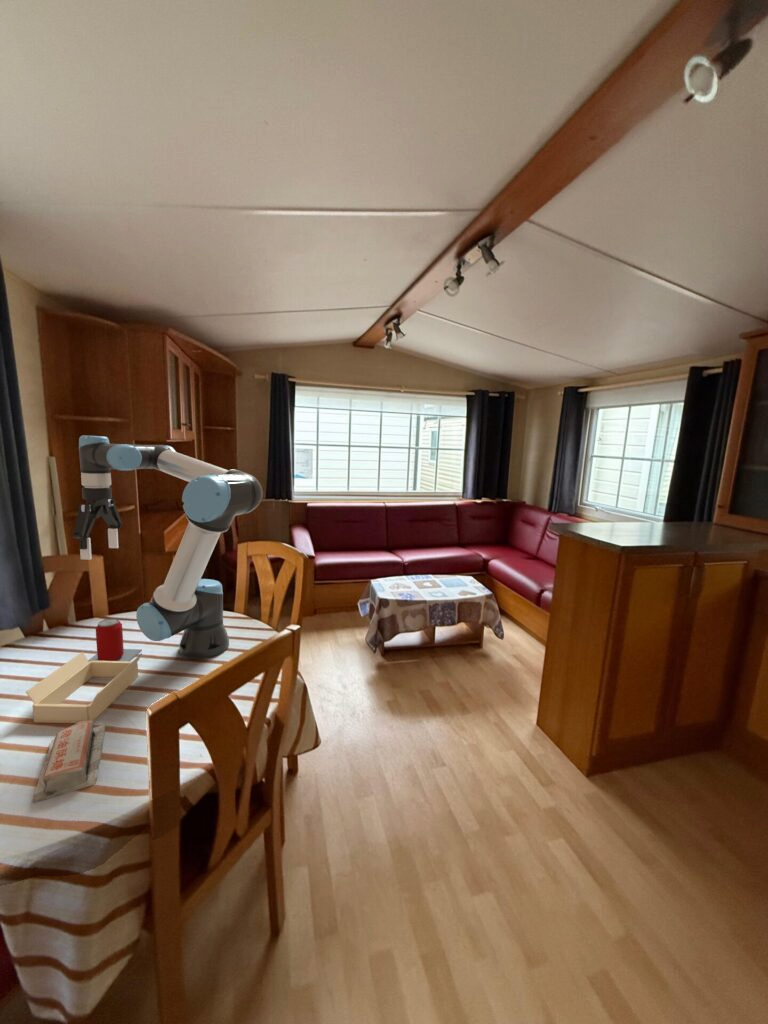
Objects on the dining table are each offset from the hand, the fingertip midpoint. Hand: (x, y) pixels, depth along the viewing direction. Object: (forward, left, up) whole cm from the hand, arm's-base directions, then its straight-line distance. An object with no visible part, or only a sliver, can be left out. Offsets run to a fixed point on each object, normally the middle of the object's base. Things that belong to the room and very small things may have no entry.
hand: (100, 553), depth 129 cm
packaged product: (-24, +49, -32) cm, 63 cm away
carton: (-13, +27, -32) cm, 43 cm away
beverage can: (-6, +8, -31) cm, 33 cm away
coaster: (-6, +8, -32) cm, 33 cm away
